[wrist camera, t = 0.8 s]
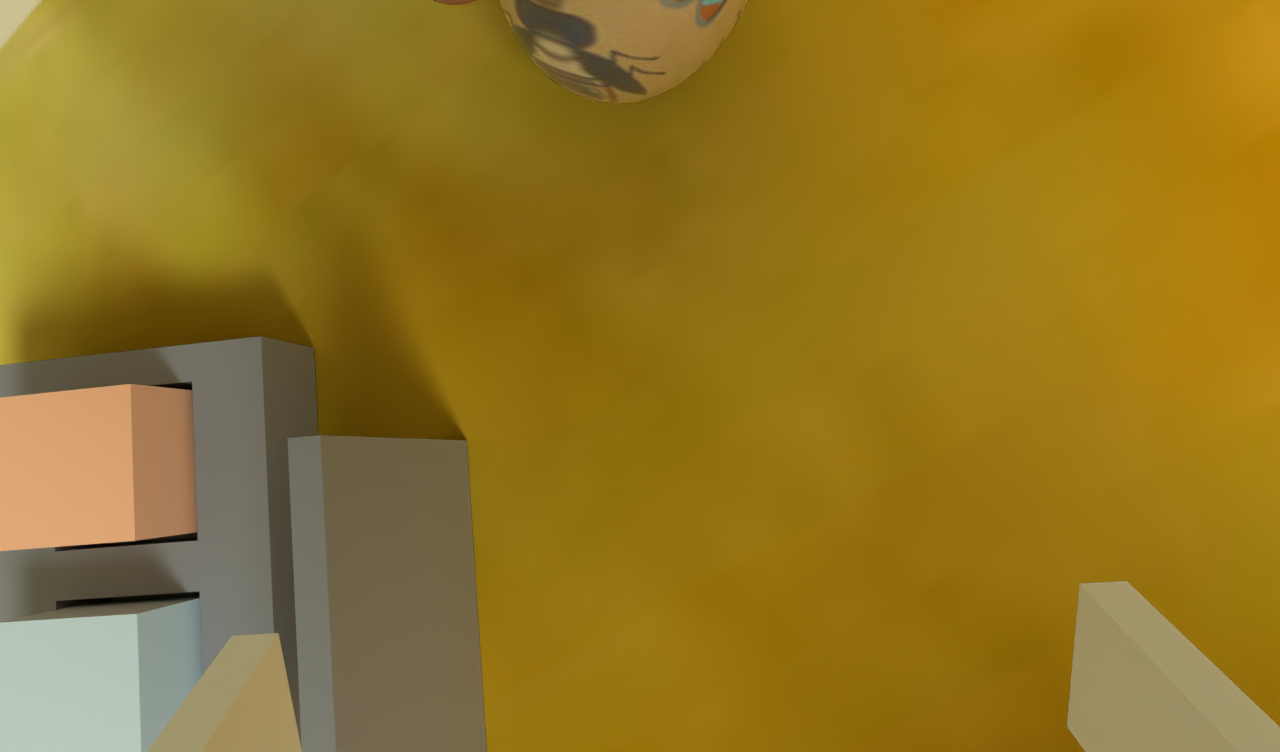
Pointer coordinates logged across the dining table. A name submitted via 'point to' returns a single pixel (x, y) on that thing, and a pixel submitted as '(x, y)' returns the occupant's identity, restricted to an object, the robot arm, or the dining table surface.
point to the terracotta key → (96, 466)
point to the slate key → (97, 675)
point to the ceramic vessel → (619, 42)
